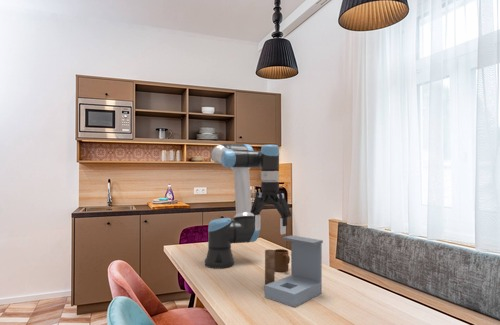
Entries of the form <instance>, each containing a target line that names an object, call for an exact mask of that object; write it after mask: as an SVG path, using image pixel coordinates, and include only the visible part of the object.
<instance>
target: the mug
mask: <svg viewBox="0 0 500 325" xmlns="http://www.w3.org/2000/svg"><path fill="white" fill-rule="evenodd" d="M274 250H275V272H276V273H286V272H288V271H289V268H290V267H289V264H290V263H291V259H290V258H291V257H290V255H289V250H287V249H283V248H278V249H274Z"/></svg>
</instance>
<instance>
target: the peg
mask: <svg viewBox="0 0 500 325" xmlns="http://www.w3.org/2000/svg"><path fill="white" fill-rule="evenodd" d="M275 250H276V249H265V250H264V286H265V285H267V284H269V283H272V282H274V281H276V280H275V272H276V271H275Z"/></svg>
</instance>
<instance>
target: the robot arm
mask: <svg viewBox="0 0 500 325" xmlns="http://www.w3.org/2000/svg"><path fill="white" fill-rule="evenodd" d="M209 156H210V158H211V160H212V161H213V163H216V164H218V165H222V167H223V168H230V169H231V170H232V172H233V181H234V183H233V184H234V199H235V200H234V202H235V215H234V216H233V220H232V219H231V218H230V217H221V218H216V219H211V220H210V221H209V223H208V229H207V231H208V234H207V236H208V237H207V238H208V243H207V244H208V246H207V248H208V249H207V254H206V257H205V259H204V266H205V267H207V268H210V269H226V268H227V269H228V268H230V267H233V266H235V258H234V256H233V253H232V252H233V251H232V249H231V248H232V244H244V243H245V244H246V243H247V244H248V243H253V242H256V241H257V240H258V239H259V236H260V231H261V222H262V221H261V212H262V210H263V209H264V208H265V206H266V205H268V204H270V205H273V206H274V208H276V210H277V211H278V213H279V215H280V216H281V217H280V218H279V219H280V220H279V222H280V228H279V230H280V233H279V235H286V234H287V227H288V218H289V217H290V218H291V216H292V212H291V211H290V207H289V204H288V202H287V199H286V195H285V194H286V193H279V190H280V182H279V181H280V146H278V145H277V144H263V145H261V149H260V150H254V148H253V147H252V145H250V144H247V143H221V144H218V145H215V146H214V147H212V149H211V151H210V154H209ZM251 168H253V169H255V168H256V169H257V168H258V169H260V172H261V174H260V177H261V179H260V180H261V181H262V182H261V184H260V188H261V189H260V190H261V191H260V192H259V191H258V192H256V193H255V198H254V202H253V203H252V196H251V195H252V192H251V181H250V180H251V179H250V178H251V177H250V169H251Z"/></svg>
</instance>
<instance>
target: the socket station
mask: <svg viewBox="0 0 500 325" xmlns="http://www.w3.org/2000/svg"><path fill="white" fill-rule="evenodd" d="M282 241H286V242H287V241H288V242H290V246H291V249H290V250H291V251H290V252H291V254H290V256H291V257H290V258H291V259H290V264H291V265H290V275H288V276H285V277H283V278H280V279H277V280H275V281H274V282H272V283H269V284H267V285H265V284H264V298H266V299H269V300H273V301H275V302H277V303H282V304H284V305H287V306H291V307H294V308H296V307H297V306H299V305H302V304H303V303H305V302H308V301H309V300H312V299H314V298H315V297H317V296H320V295H322V294H323V293H322V292H323V290H322V287H323V286H322V280H323V279H322V277H323V276H322V274H323V273H322V272H323V271H322V268H323V267H322V265H323V264H322V263H323V262H322V259H323V258H322V257H323V255H322V253H323V252H322V249H323V248H322V245H323V242H324V240H322V239H316V238H310V237H304V236H297V235H287V236H284V237H282Z"/></svg>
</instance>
